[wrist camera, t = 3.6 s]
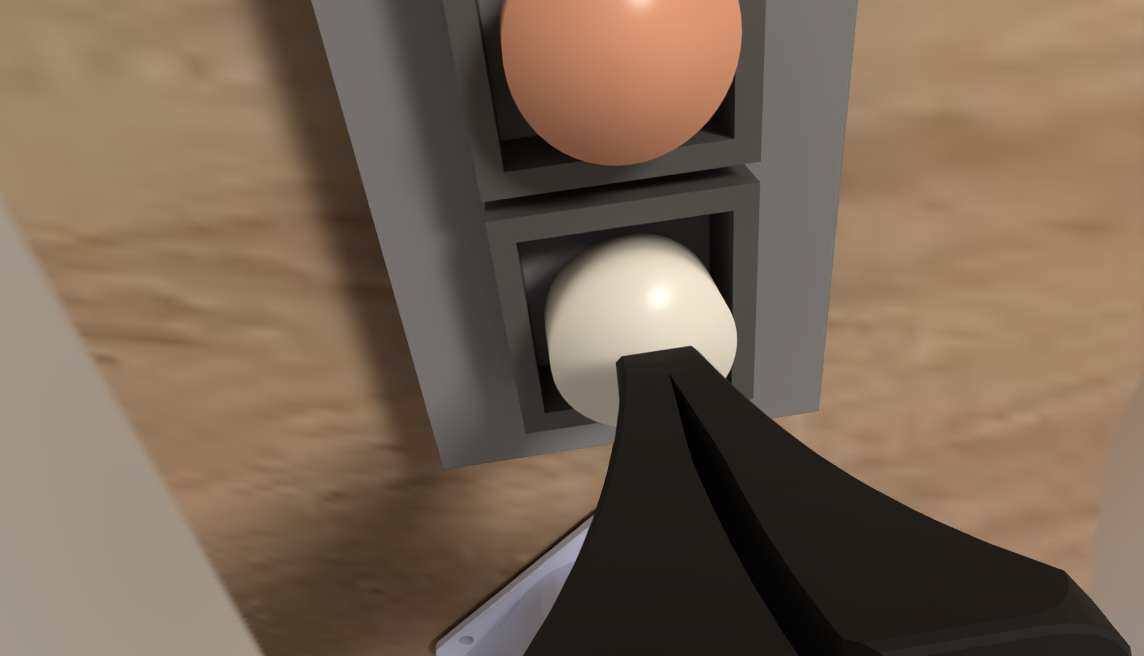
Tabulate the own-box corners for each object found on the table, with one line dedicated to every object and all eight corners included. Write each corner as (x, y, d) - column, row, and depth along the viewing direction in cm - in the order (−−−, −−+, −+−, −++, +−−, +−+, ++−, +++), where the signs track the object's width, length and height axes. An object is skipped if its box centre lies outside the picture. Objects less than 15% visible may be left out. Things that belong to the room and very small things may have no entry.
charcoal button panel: (779, 348, 22) (847, 457, 18) (448, 399, 22) (440, 521, 17) (844, -852, 10) (1074, -1305, 6) (143, -778, 10) (-81, -1205, 6)
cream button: (714, 368, 16) (735, 413, 15) (555, 392, 16) (562, 440, 15) (714, 220, 14) (738, 257, 13) (533, 247, 14) (538, 287, 13)
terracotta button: (713, 120, 13) (740, 148, 12) (517, 148, 13) (521, 180, 12) (712, -110, 11) (743, -108, 10) (481, -80, 11) (482, -72, 10)
